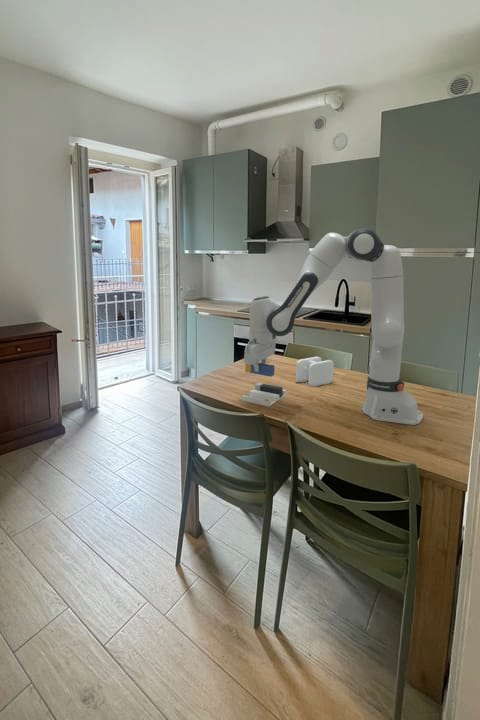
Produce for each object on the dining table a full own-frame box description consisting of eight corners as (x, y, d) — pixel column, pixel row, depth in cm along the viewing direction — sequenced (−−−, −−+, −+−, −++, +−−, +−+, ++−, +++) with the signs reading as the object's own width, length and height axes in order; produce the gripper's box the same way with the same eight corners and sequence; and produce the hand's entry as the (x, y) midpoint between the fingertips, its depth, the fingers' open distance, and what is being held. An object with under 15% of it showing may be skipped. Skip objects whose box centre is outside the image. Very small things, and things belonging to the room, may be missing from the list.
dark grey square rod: (282, 396, 175) (282, 387, 174) (279, 398, 173) (279, 389, 172) (258, 391, 181) (258, 382, 180) (254, 393, 179) (255, 384, 178)
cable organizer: (308, 388, 187) (310, 364, 184) (294, 382, 196) (295, 359, 193) (333, 383, 194) (334, 360, 191) (318, 377, 203) (319, 355, 200)
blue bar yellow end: (274, 374, 165) (274, 365, 164) (270, 376, 163) (271, 367, 162) (248, 370, 171) (249, 361, 170) (245, 372, 169) (245, 362, 168)
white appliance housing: (285, 396, 177) (286, 389, 176) (269, 408, 164) (269, 401, 163) (259, 391, 184) (260, 384, 183) (241, 402, 171) (241, 395, 170)
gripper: (254, 343, 153) (253, 377, 157) (278, 333, 170) (277, 365, 173) (240, 341, 156) (240, 375, 160) (265, 331, 173) (264, 362, 177)
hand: (259, 369), depth 167 cm, fingers closed on blue bar yellow end, 3 cm apart
